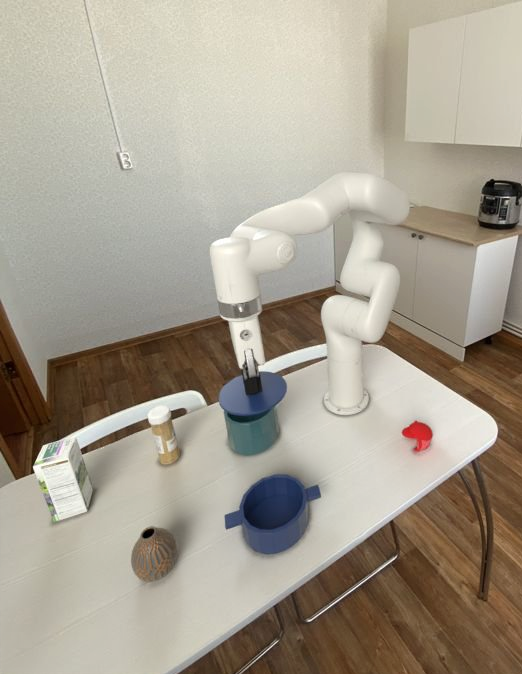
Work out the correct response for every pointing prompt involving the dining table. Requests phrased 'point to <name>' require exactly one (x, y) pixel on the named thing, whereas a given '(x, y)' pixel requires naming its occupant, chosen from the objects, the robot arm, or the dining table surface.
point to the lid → (252, 395)
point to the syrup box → (63, 478)
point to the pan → (273, 513)
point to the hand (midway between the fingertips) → (252, 386)
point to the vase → (154, 554)
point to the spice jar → (164, 434)
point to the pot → (252, 431)
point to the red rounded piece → (419, 434)
